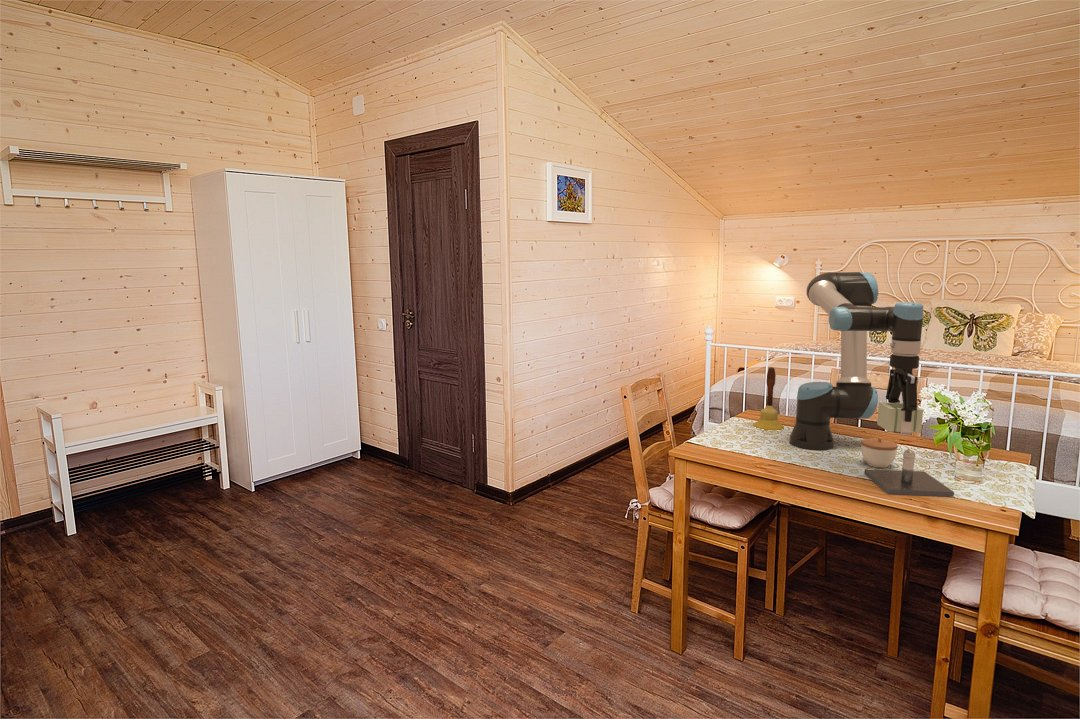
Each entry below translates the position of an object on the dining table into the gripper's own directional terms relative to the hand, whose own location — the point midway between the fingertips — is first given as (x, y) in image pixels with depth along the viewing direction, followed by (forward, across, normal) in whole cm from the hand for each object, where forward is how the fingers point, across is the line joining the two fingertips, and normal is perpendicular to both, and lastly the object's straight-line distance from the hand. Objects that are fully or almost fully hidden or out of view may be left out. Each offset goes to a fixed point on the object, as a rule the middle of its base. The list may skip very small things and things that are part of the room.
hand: (898, 427), depth 187 cm
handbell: (+17, -64, -24) cm, 71 cm away
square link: (0, 0, 0) cm, 0 cm away
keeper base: (+18, 0, +4) cm, 18 cm away
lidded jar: (+18, -19, +2) cm, 26 cm away
